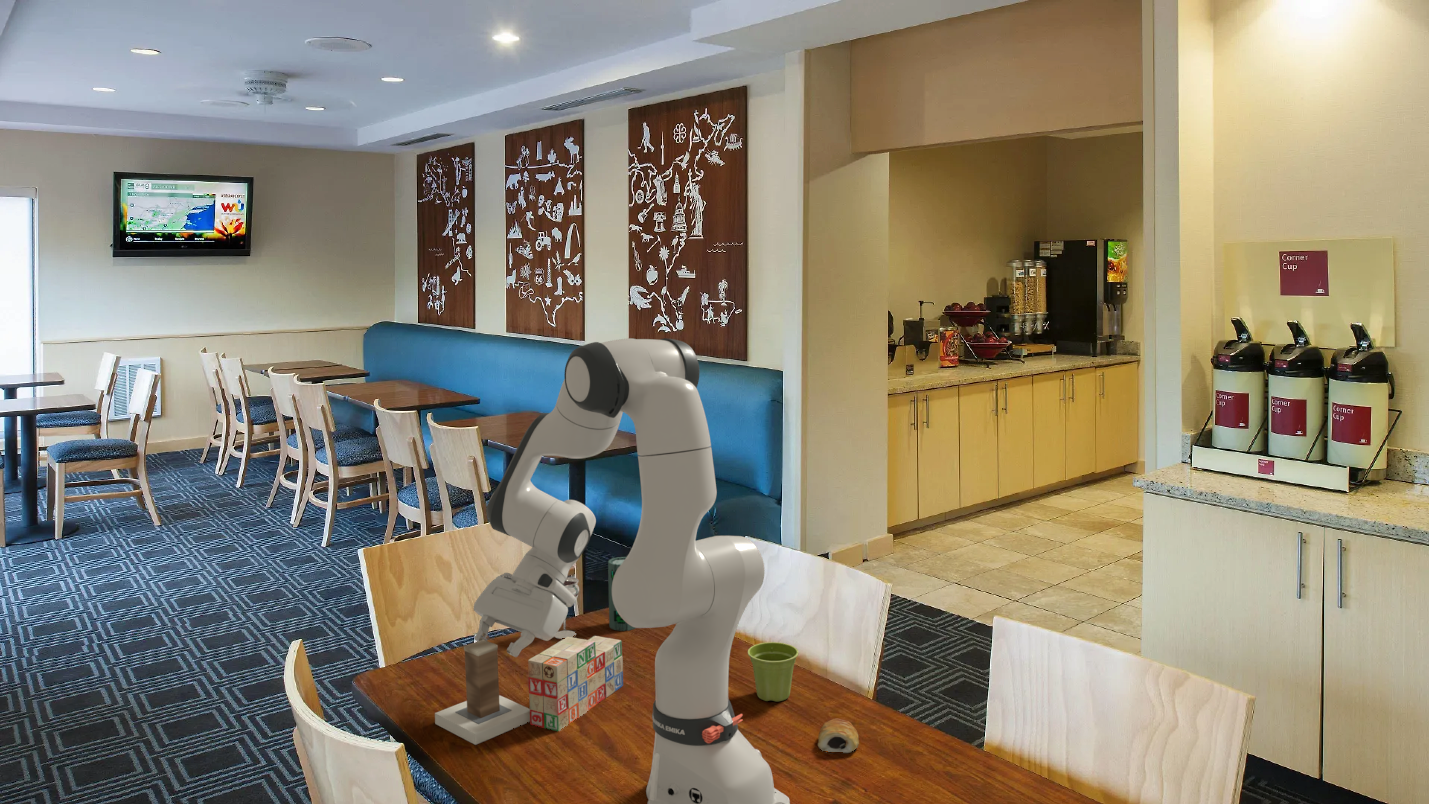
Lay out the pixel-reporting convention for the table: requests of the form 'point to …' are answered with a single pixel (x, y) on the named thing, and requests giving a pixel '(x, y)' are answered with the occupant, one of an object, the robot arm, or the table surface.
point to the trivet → (482, 720)
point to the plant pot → (773, 669)
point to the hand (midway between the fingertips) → (494, 648)
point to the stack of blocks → (572, 679)
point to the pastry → (838, 736)
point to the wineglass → (574, 589)
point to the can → (614, 617)
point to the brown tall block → (482, 678)
